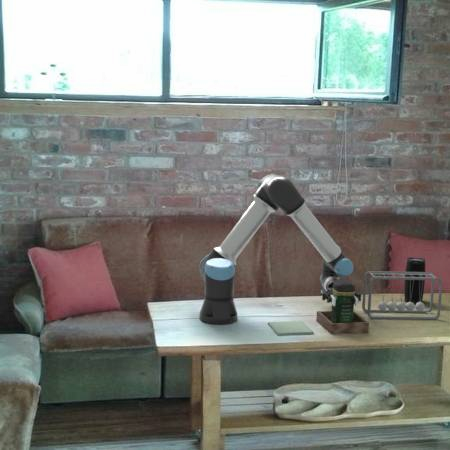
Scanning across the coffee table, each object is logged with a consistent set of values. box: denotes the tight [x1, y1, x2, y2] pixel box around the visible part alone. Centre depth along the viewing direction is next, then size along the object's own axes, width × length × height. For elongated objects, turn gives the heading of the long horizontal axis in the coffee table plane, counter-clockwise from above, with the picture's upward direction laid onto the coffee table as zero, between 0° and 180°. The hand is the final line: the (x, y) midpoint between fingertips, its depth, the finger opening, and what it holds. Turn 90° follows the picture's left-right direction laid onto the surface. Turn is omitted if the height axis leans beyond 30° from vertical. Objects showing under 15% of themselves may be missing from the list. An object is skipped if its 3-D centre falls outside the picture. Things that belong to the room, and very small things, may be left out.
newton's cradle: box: [361, 270, 444, 321], centre depth 287 cm, size 30×10×18 cm, turn 92°
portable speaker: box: [403, 256, 426, 304], centre depth 310 cm, size 9×9×20 cm
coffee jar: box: [331, 278, 356, 323], centre depth 270 cm, size 10×8×19 cm
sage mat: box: [267, 320, 314, 336], centre depth 267 cm, size 14×14×1 cm
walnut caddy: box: [315, 310, 370, 335], centre depth 272 cm, size 15×17×4 cm
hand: (345, 302), depth 265 cm, fingers closed on coffee jar, 8 cm apart
